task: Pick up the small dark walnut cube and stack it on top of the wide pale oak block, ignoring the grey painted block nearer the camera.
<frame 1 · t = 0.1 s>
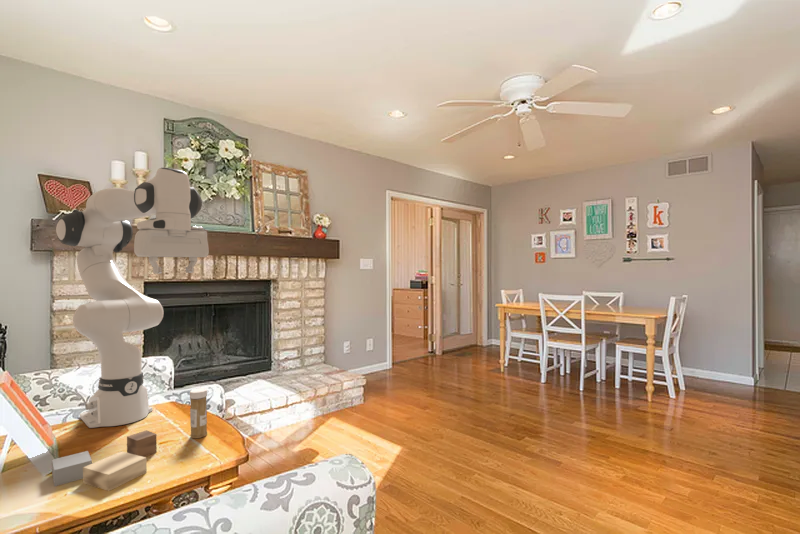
hand: (174, 273, 123), 48 cm above the table, fingers open, 8 cm apart
sprinkles bottle: (198, 436, 126), on the table
oak block: (115, 479, 101), on the table
walnut cube: (141, 453, 114), on the table
grey block: (72, 476, 102), on the table
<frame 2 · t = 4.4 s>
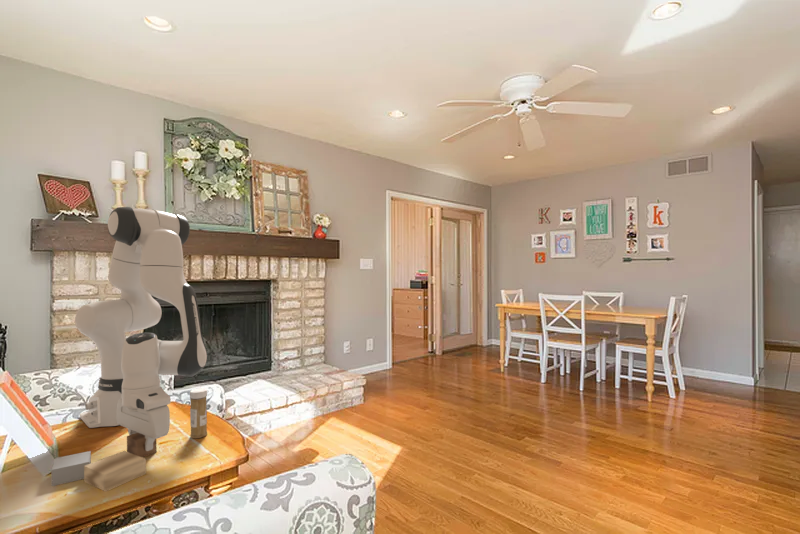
hand: (141, 447, 114), 2 cm above the table, fingers closed on walnut cube, 5 cm apart
walnut cube: (141, 453, 114), on the table, touching gripper
everything else where it was.
when the fingers open (7 cm above the table, at t = 9.9 s): walnut cube drops 2 cm, resting on oak block.
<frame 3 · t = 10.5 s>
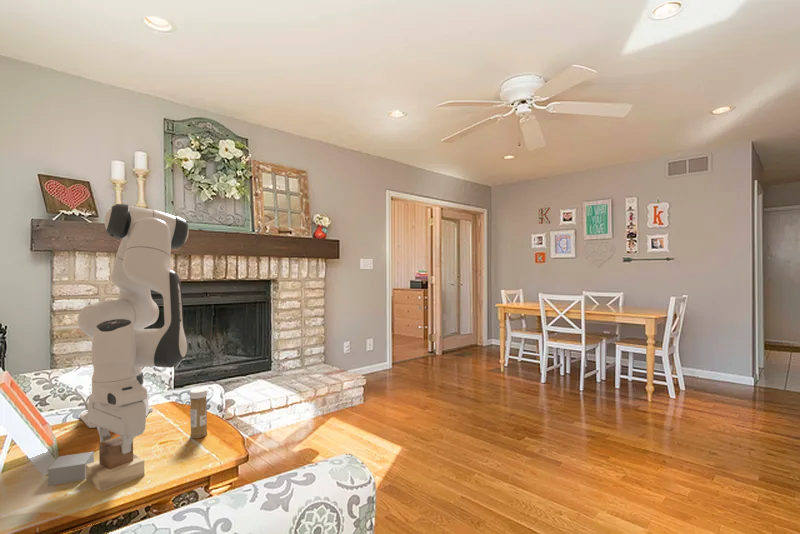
hand: (115, 447, 101), 7 cm above the table, fingers open, 8 cm apart
oak block: (115, 479, 101), on the table, touching walnut cube
walnut cube: (116, 462, 101), point 4 cm above the table, touching oak block
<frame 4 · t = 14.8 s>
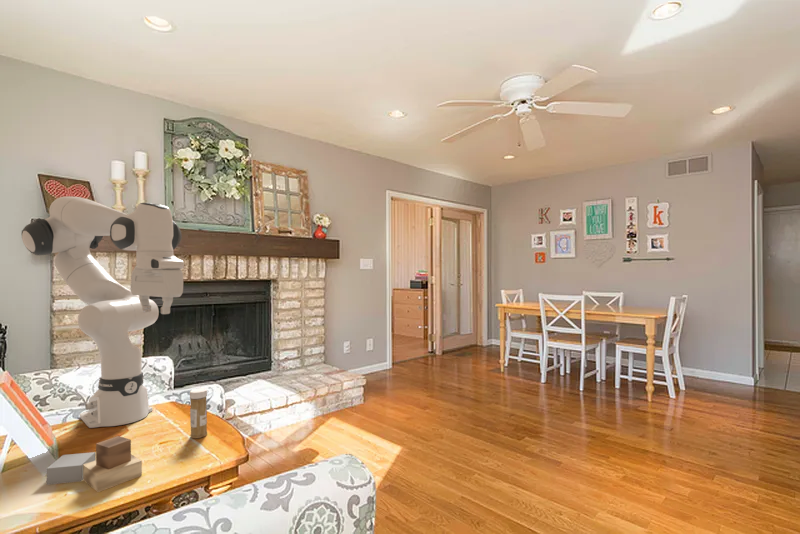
hand: (155, 312, 117), 37 cm above the table, fingers open, 8 cm apart
at the end: walnut cube inside the target area on the oak block (0.3 cm from its centre), point 4.0 cm above the oak block's base; walnut cube tilted 0°; the gripper is holding nothing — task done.
